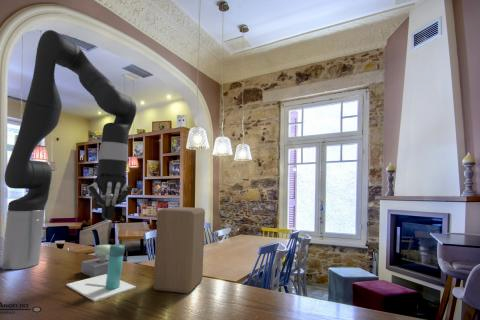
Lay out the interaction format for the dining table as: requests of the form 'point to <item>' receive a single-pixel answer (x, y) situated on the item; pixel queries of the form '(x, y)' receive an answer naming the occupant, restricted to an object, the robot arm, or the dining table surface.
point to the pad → (98, 288)
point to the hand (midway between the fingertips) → (107, 219)
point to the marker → (114, 266)
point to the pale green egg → (102, 252)
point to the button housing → (94, 267)
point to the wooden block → (179, 249)
